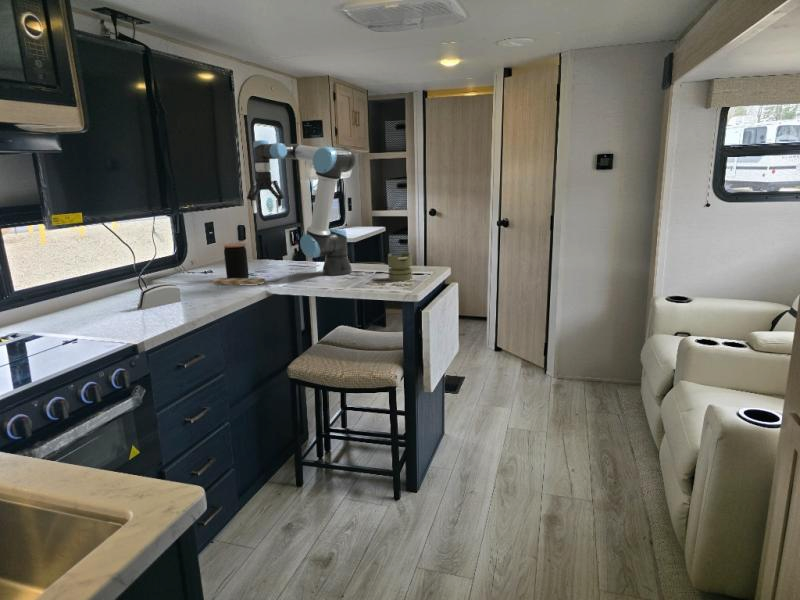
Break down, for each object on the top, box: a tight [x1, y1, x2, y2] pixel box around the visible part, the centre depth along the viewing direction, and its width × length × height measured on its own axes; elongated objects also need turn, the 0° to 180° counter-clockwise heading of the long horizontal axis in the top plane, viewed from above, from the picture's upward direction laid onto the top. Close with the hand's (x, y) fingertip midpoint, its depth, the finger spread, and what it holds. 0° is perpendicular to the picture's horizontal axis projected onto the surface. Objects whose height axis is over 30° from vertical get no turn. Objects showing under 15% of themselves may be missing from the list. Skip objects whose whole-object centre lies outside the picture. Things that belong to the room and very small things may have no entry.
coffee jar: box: [223, 242, 250, 278], centre depth 266 cm, size 11×11×18 cm
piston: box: [387, 252, 413, 282], centre depth 254 cm, size 11×12×11 cm
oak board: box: [212, 277, 266, 286], centre depth 257 cm, size 24×7×2 cm, turn 77°
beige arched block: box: [137, 283, 182, 310], centre depth 217 cm, size 17×5×10 cm, turn 142°
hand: (266, 212), depth 280 cm, fingers open, 13 cm apart
